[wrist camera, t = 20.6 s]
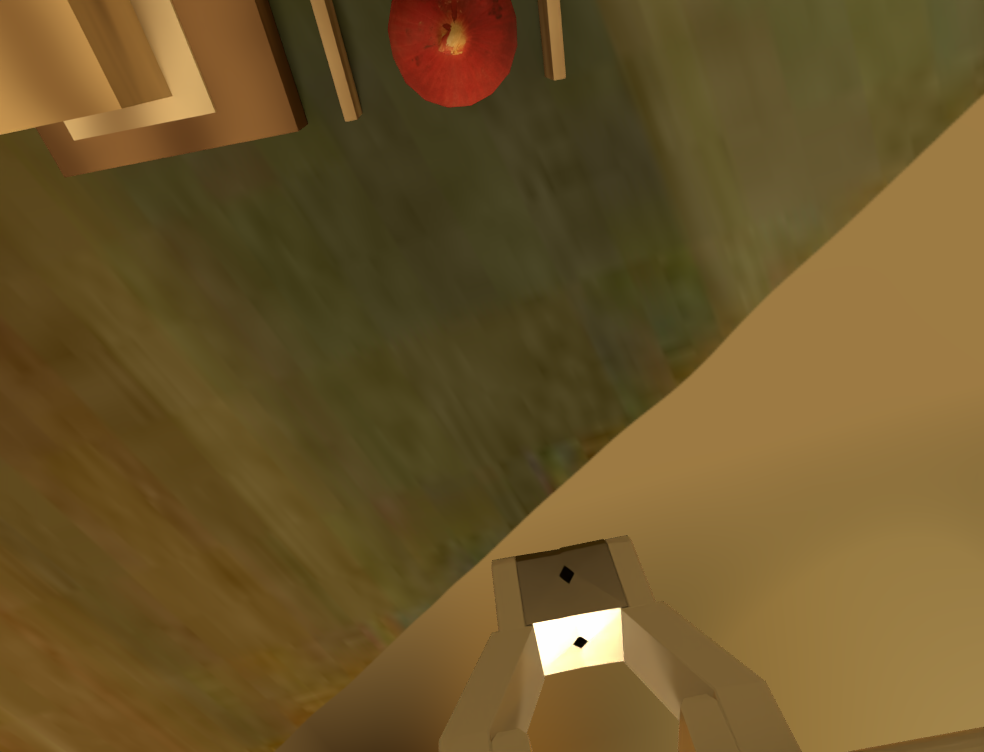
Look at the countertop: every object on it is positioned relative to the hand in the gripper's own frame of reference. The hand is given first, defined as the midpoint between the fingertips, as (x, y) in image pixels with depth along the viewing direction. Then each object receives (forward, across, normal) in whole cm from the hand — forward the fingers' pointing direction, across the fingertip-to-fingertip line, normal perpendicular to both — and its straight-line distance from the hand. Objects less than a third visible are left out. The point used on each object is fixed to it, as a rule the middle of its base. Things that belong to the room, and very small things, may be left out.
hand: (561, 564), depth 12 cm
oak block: (+22, +16, -12) cm, 30 cm away
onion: (+25, 0, -10) cm, 27 cm away
